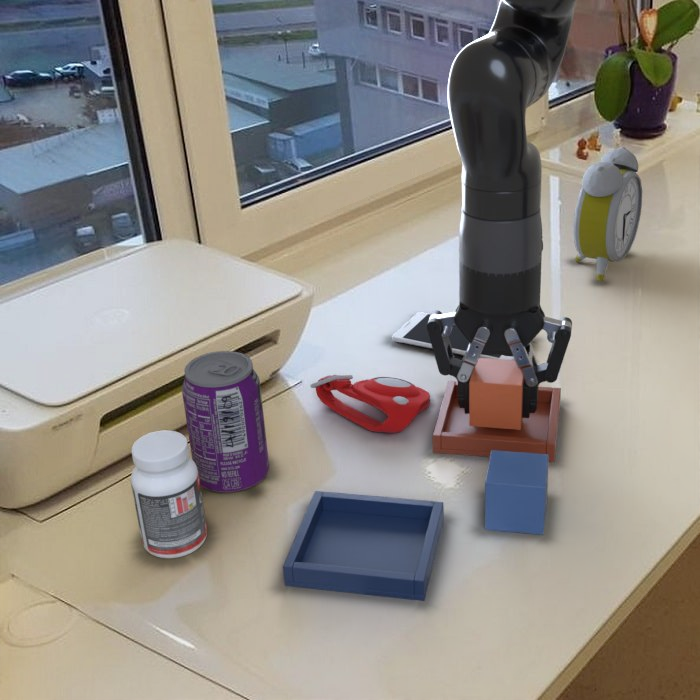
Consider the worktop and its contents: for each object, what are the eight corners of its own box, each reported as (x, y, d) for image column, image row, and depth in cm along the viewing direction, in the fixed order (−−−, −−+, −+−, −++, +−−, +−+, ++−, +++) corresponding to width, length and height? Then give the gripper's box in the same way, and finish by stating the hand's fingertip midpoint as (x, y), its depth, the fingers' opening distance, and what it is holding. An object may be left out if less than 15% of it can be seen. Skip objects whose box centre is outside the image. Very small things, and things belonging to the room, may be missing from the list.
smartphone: (510, 362, 117) (389, 336, 124) (510, 367, 117) (389, 341, 124) (535, 333, 122) (418, 310, 129) (535, 338, 123) (418, 315, 129)
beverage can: (283, 464, 103) (271, 355, 97) (246, 505, 97) (232, 392, 92) (220, 450, 106) (205, 343, 100) (181, 489, 100) (163, 379, 95)
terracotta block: (524, 403, 107) (526, 360, 105) (520, 430, 103) (522, 385, 101) (475, 400, 109) (475, 357, 106) (469, 426, 104) (469, 382, 102)
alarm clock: (609, 287, 134) (616, 172, 127) (557, 278, 137) (562, 165, 130) (639, 253, 142) (648, 144, 135) (590, 245, 146) (596, 138, 138)
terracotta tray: (560, 404, 110) (561, 387, 109) (554, 462, 101) (555, 444, 100) (448, 397, 112) (448, 380, 111) (432, 452, 103) (432, 435, 102)
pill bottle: (221, 538, 93) (207, 443, 89) (168, 570, 90) (151, 473, 85) (182, 512, 97) (167, 419, 92) (129, 541, 94) (111, 447, 89)
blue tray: (443, 520, 94) (443, 501, 93) (424, 601, 85) (423, 581, 84) (316, 508, 96) (314, 490, 96) (284, 585, 87) (282, 566, 86)
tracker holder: (421, 372, 115) (445, 398, 105) (415, 412, 116) (438, 440, 106) (310, 362, 112) (325, 387, 103) (305, 403, 113) (319, 431, 104)
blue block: (547, 500, 96) (548, 454, 93) (543, 535, 91) (545, 487, 89) (491, 495, 97) (491, 449, 94) (484, 529, 92) (485, 482, 90)
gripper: (415, 267, 96) (420, 426, 104) (578, 274, 93) (569, 438, 101) (429, 235, 102) (432, 388, 110) (581, 240, 99) (573, 397, 107)
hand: (497, 411), depth 106 cm, fingers closed on terracotta block, 5 cm apart
